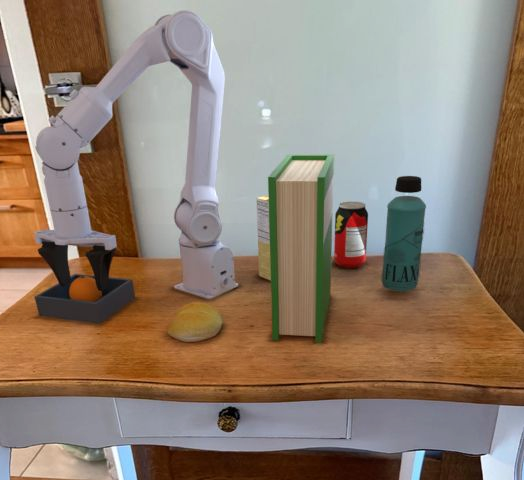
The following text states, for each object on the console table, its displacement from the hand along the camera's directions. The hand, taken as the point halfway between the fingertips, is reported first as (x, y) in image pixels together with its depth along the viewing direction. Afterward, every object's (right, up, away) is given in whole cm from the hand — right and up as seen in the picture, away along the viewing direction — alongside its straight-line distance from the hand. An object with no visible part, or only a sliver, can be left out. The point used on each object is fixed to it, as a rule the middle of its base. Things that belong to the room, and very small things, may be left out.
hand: (84, 286), depth 95 cm
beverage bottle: (+55, -1, +3) cm, 55 cm away
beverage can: (+48, +6, +17) cm, 52 cm away
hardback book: (+37, -6, -4) cm, 38 cm away
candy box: (+35, +4, +14) cm, 37 cm away
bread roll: (+20, -8, -7) cm, 23 cm away
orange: (0, -3, +2) cm, 4 cm away
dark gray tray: (0, -4, +2) cm, 4 cm away
